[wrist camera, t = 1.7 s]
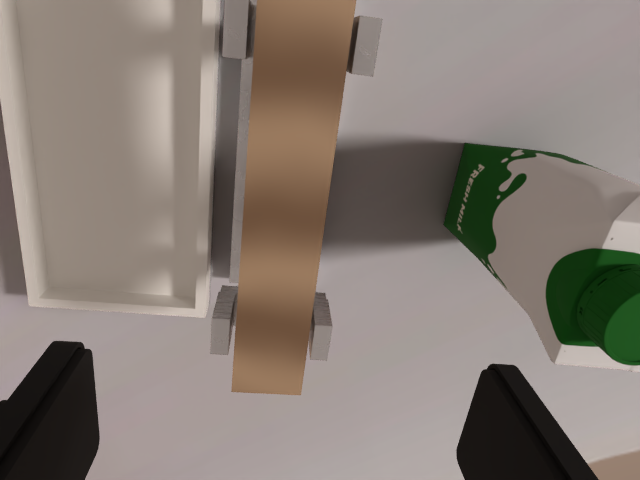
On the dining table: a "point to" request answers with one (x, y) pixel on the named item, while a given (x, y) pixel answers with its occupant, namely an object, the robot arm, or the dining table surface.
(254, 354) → the walnut rail
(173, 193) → the off-white tray
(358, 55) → the steel stand
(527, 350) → the dining table surface
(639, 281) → the milk carton
